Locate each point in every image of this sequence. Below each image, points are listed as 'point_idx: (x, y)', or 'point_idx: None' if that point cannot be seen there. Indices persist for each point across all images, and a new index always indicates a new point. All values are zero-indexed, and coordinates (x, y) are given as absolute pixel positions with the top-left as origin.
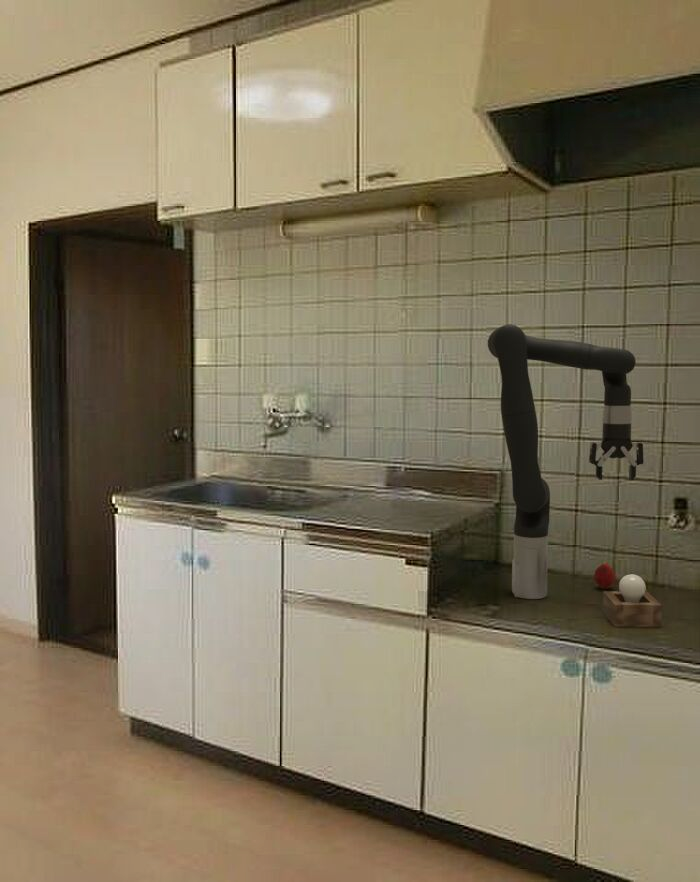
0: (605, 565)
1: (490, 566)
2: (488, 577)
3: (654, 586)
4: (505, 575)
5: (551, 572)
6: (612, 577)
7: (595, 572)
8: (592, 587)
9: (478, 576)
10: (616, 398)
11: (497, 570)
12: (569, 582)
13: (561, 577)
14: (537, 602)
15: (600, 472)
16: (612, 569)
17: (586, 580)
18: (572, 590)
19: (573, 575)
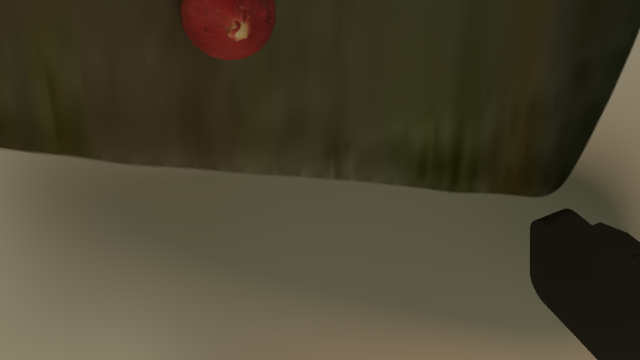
0: (236, 14)
1: (583, 148)
2: (609, 17)
3: (22, 115)
4: (554, 62)
5: (408, 155)
6: None
7: (273, 3)
8: None
9: (637, 18)
10: None
11: (570, 112)
12: (352, 52)
13: (378, 107)
14: None
15: (630, 264)
16: (200, 20)
17: (292, 101)
18: None
19: (337, 147)
